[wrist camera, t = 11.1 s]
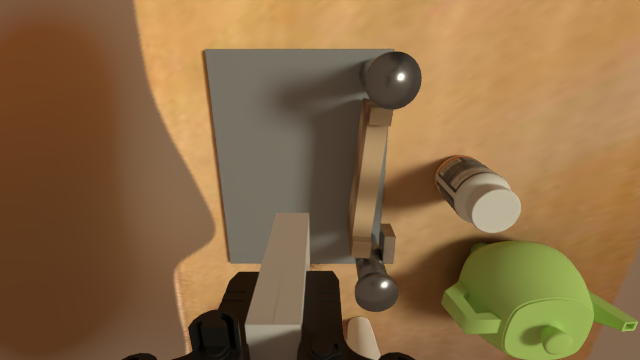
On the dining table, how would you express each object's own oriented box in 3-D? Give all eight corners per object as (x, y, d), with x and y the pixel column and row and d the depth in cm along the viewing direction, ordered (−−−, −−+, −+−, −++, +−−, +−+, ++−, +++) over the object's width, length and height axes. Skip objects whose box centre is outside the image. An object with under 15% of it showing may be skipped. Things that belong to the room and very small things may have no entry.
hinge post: (353, 52, 35) (367, 51, 25) (394, 52, 35) (424, 51, 25) (352, 94, 36) (364, 109, 26) (391, 94, 36) (418, 109, 26)
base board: (206, 49, 35) (204, 49, 34) (393, 49, 35) (394, 49, 34) (231, 260, 45) (230, 263, 44) (377, 261, 45) (377, 263, 44)
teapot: (585, 229, 43) (685, 296, 31) (556, 309, 48) (633, 393, 36) (434, 225, 43) (477, 290, 31) (420, 306, 47) (452, 389, 36)
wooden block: (362, 97, 35) (371, 107, 29) (381, 99, 35) (393, 108, 29) (346, 227, 41) (350, 257, 35) (362, 228, 41) (369, 258, 35)
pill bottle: (477, 195, 41) (523, 236, 32) (431, 198, 41) (463, 240, 32) (482, 151, 39) (532, 182, 30) (434, 155, 39) (469, 186, 30)
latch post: (348, 210, 42) (357, 259, 32) (384, 210, 42) (405, 260, 32) (346, 252, 44) (354, 311, 34) (381, 252, 44) (399, 311, 34)
